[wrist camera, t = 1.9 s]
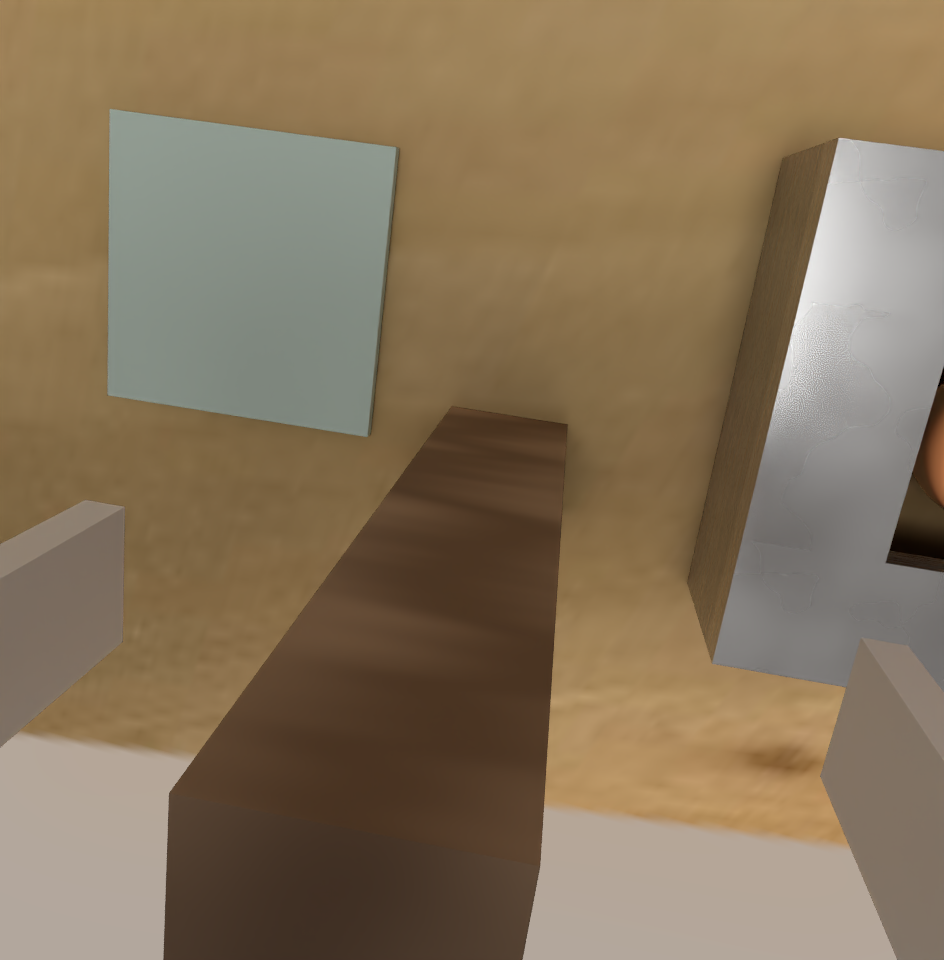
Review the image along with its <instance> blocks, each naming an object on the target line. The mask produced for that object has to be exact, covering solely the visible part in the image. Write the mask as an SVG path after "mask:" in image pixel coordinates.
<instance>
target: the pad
mask: <svg viewBox="0 0 944 960" xmlns="http://www.w3.org/2000/svg"><path fill="white" fill-rule="evenodd" d="M398 157H399V148H397V147H391V146H383V145H376V144H368V143H361V142H353V141H346V140H338V139H331V138H323V137H316V136H308V135H301V134H293V133H286V132H278V131H271V130H263V129H256V128H248V127H241V126H233V125H226V124H218V123H211V122H203V121H196V120H188V119H181V118H173V117H166V116H158V115H151V114H143V113H136V112H128V111H121V110H113V109H110V140H109V272H108V395H109V396H115V397H121V398H128V399H134V400H140V401H146V402H152V403H159V404H165V405H171V406H177V407H184V408H190V409H196V410H202V411H208V412H215V413H221V414H227V415H233V416H240V417H246V418H252V419H258V420H265V421H271V422H277V423H283V424H289V425H296V426H302V427H308V428H314V429H321V430H327V431H333V432H339V433H346V434H352V435H358V436H364V437H368V436H369V435H370V434H371V425H372V415H373V405H374V395H375V385H376V375H377V365H378V355H379V345H380V335H381V326H382V316H383V306H384V296H385V286H386V276H387V266H388V256H389V246H390V236H391V226H392V216H393V206H394V197H395V187H396V177H397V167H398Z"/></svg>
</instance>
